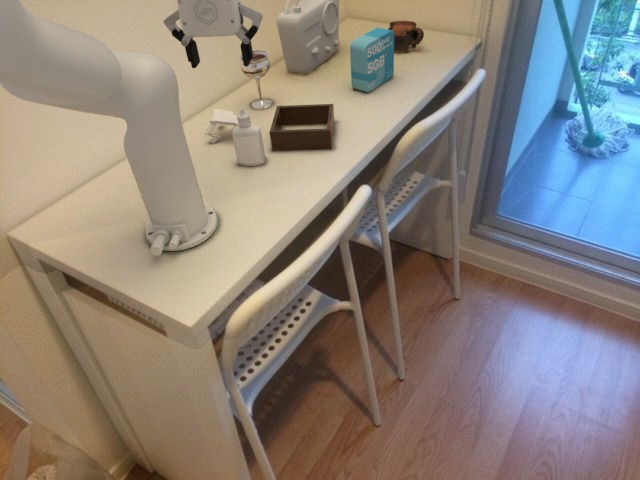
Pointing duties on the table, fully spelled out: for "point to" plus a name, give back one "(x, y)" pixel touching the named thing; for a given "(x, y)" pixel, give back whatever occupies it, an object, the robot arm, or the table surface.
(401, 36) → the pottery mug
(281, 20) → the radio
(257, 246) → the table surface
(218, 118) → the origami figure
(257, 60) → the wineglass
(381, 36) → the data package
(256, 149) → the eye dropper bottle
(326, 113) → the square wooden box frame
